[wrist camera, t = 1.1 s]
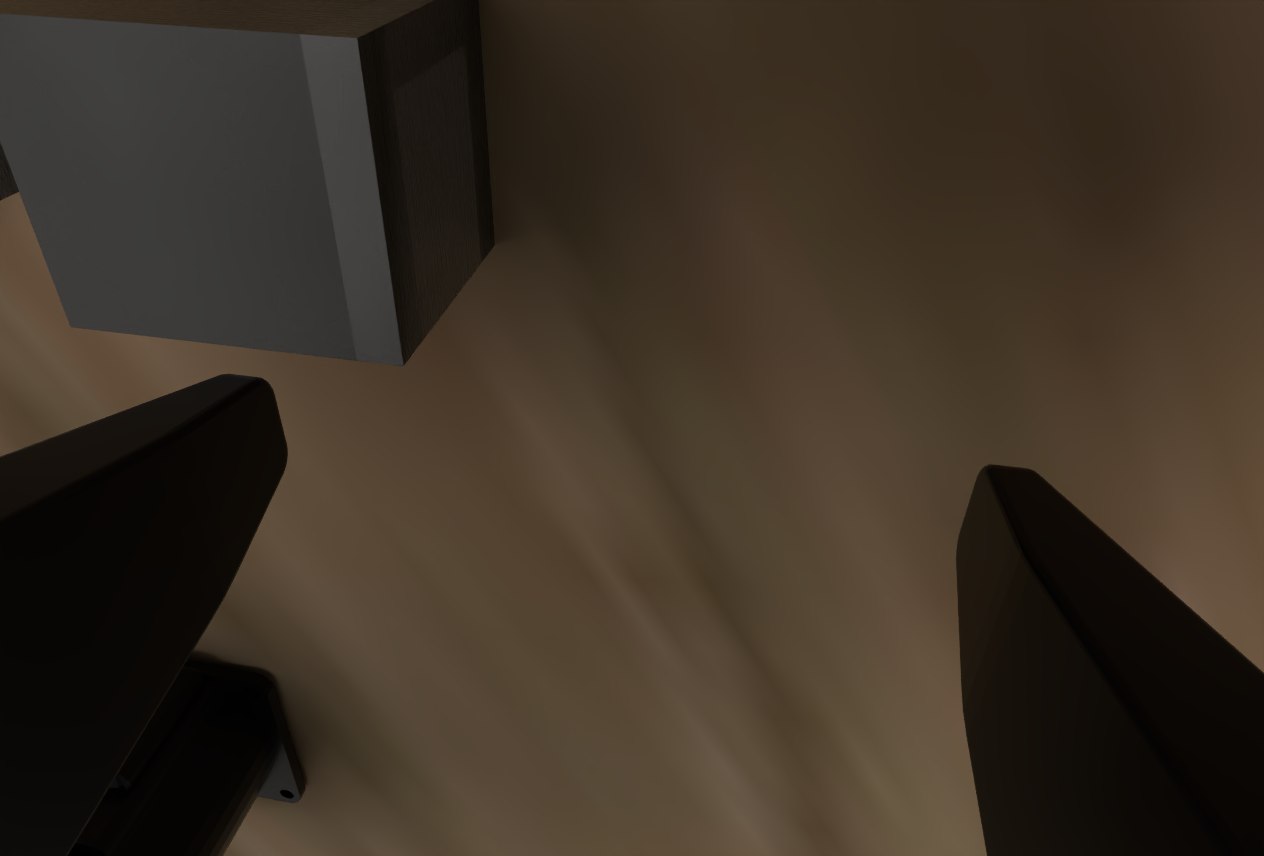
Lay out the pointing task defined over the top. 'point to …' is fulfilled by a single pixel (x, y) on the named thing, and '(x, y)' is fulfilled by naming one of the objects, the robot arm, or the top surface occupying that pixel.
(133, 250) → the dark-topped grey cube
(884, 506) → the top surface
